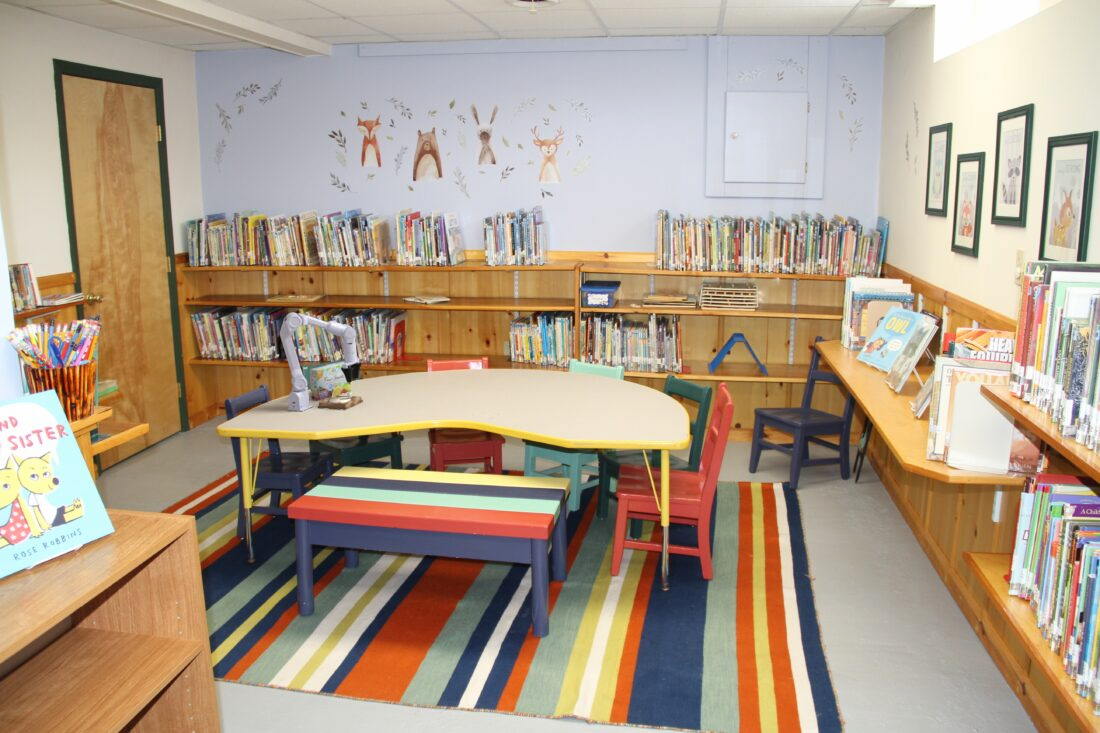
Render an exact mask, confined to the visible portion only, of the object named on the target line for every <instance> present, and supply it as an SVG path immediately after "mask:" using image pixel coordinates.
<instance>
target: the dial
mask: <svg viewBox="0 0 1100 733" xmlns="http://www.w3.org/2000/svg"><path fill="white" fill-rule="evenodd" d="M346 394H347V395H346V396H348V397H337V398H333V399H330V400H329V402H335V403H339V402H340V403H345V402H347V401H350V400H351V399H352V396H353V392H352V391H351V392H348V393H346Z"/></svg>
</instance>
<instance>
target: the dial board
mask: <svg viewBox="0 0 1100 733" xmlns="http://www.w3.org/2000/svg"><path fill="white" fill-rule="evenodd" d="M337 397H348V395H335V396H333V397H329V398H326V399H322V401H321V400H320V401H319V402H318V405H317V406H316V407H317V409H323V408H329V409H328V410H341V409H343V410H345V411H346V409H347V410H348V409H351V408H353V407H355V406H357V405H359V403H360V404H362V403H363V402H364V399H362V396H357V395H356V396H355V395H354V396H353V395H352V399H351V400H350V401H347V402H345V403H340V402H339V403H335V402H329V400H330V399H333V398H337ZM361 402H362V403H361ZM343 410H342V411H343Z"/></svg>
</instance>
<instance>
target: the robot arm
mask: <svg viewBox="0 0 1100 733" xmlns="http://www.w3.org/2000/svg"><path fill="white" fill-rule="evenodd" d="M307 325H311V326H314V327H318V328H320V329H325V332H327V333H328V334H331V335H335V336H338V337H342V341H343V342H342V346H343V356H344V361H343V362H344V364H342V365H343V367H342V368H341V370H342V372H343V373H344V375H345V378H346V381H347V382H350V383H352V381H353V379H354V380H355V379H356V380H357V379H359V375H360V370H361V367H362V362H360V358H359V357H358V355H357V352H358V351H357V343H356V336H357V332H356V330H355V329H354V328H353V327H352V326H351V325H348V324H346V323H344V324H343V323H340V322H337V320H329V321H324V320H322V319H319V318H316V317H313V316H310V315H306V314H303V313H297V312H294V311H293V312H289V313H287V314H286V316H285V317H284V318H283V322H282V324H281V327H280V331H279V335H280V336H279V337H280V339H281V343H282V346H283V350H284V353H285V356H286V359H287V363H288V367H289V370H290V374H291V379H290V380H291V384H292V385H293V386H292V387H291V392H290V393H289V394H288V397H287V400H288V409H287V411H290V410H292V412H293V411H295V412H304V411H306V410H308V409H311V408H313V407H314V404H312V405H311V404H310V395H309V394H310V393H309V387H308V380H307V379H306V377H305V375H304V374H303V371H302V369H301V364H300V362H299V357H298V355H297V351H296V348H295V345H294V341H293V338H292V336H293V334H294V333H295V331H296V330H297V329H299V328H300V327H301V326H302V327H304V326H307Z"/></svg>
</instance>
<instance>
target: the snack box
mask: <svg viewBox="0 0 1100 733" xmlns="http://www.w3.org/2000/svg"><path fill="white" fill-rule="evenodd" d="M342 364H344V361H339V362H334V363H332V364H327V365H322V366H318V367H314V368H310V369H309V370H308V371H309V383H310V384H309V386H310V397H311V400H313V399H314V401H318V400H319V401H321V399H322V400H326V399H328V398H330V397H332V396H335V395H338V396H340V395H339V394H341V395H343V394H342V393H344V394H347V392H350V391H351V392H352V386H351V385H352V384H351V383H352V382H347V381H346V378H345V375H344V373H343V372H342V370H341V368H342V367H343V365H342ZM325 398H326V399H325Z"/></svg>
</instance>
